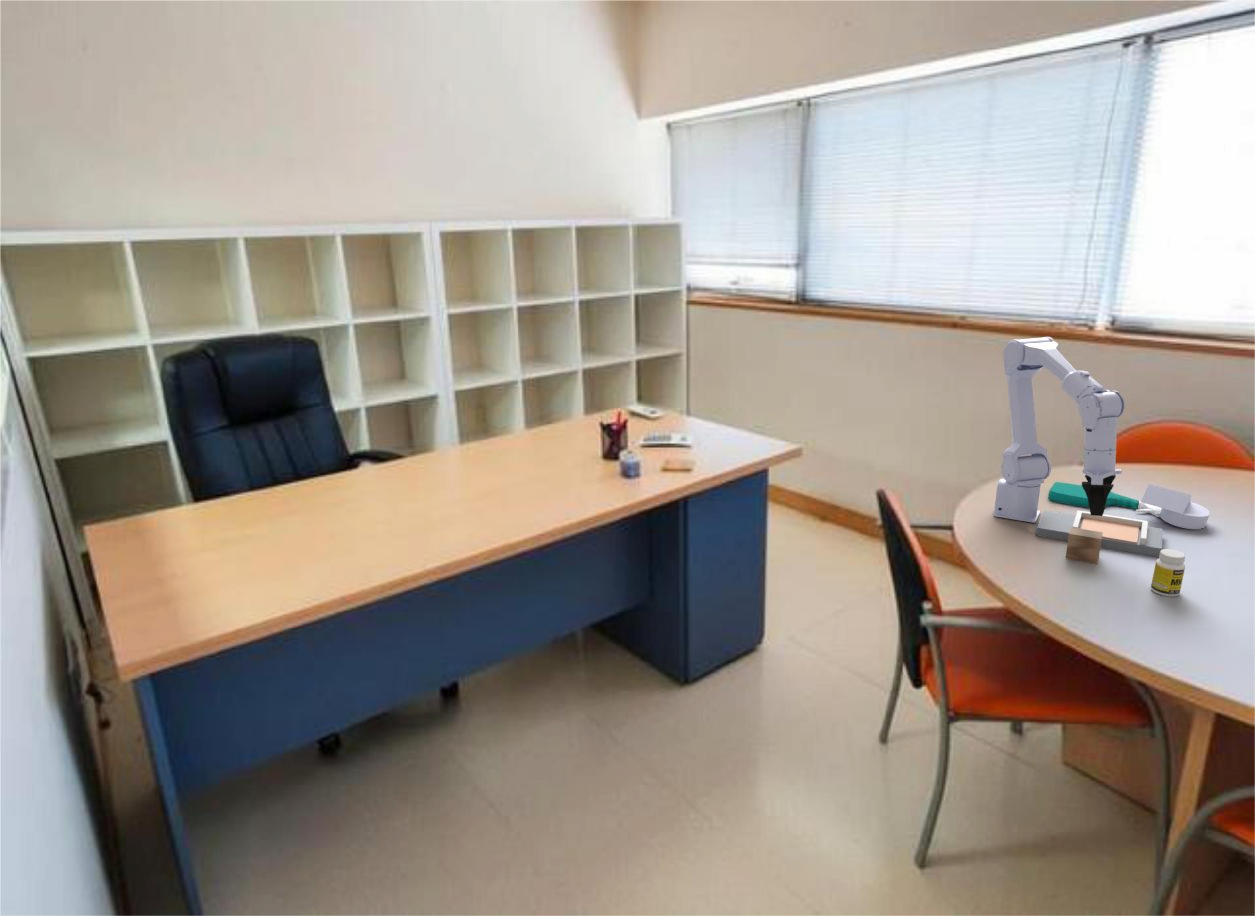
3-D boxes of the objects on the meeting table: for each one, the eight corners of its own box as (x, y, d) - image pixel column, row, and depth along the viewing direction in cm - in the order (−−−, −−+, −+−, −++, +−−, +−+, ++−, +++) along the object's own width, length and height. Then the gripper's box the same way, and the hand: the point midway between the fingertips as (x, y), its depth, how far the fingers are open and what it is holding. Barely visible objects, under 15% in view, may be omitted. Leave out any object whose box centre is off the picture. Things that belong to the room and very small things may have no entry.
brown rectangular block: (1065, 558, 163) (1068, 533, 162) (1067, 551, 166) (1070, 527, 165) (1097, 564, 160) (1101, 539, 158) (1098, 557, 163) (1102, 532, 161)
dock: (1036, 535, 175) (1037, 521, 174) (1043, 517, 184) (1044, 504, 183) (1160, 557, 162) (1163, 542, 161) (1161, 536, 171) (1163, 522, 170)
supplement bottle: (1170, 599, 145) (1178, 560, 142) (1145, 589, 149) (1152, 551, 146) (1184, 593, 147) (1192, 554, 144) (1159, 583, 151) (1166, 545, 148)
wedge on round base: (1136, 514, 180) (1201, 533, 172) (1144, 489, 177) (1210, 507, 169) (1145, 502, 186) (1208, 520, 178) (1153, 478, 183) (1217, 495, 175)
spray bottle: (1053, 489, 202) (1162, 508, 188) (1045, 502, 194) (1159, 523, 180) (1054, 479, 201) (1165, 497, 187) (1047, 492, 193) (1161, 512, 179)
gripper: (1121, 455, 150) (1118, 520, 152) (1123, 443, 161) (1121, 504, 164) (1080, 454, 154) (1078, 517, 156) (1085, 443, 165) (1084, 502, 168)
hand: (1097, 511), depth 160 cm, fingers open, 7 cm apart
